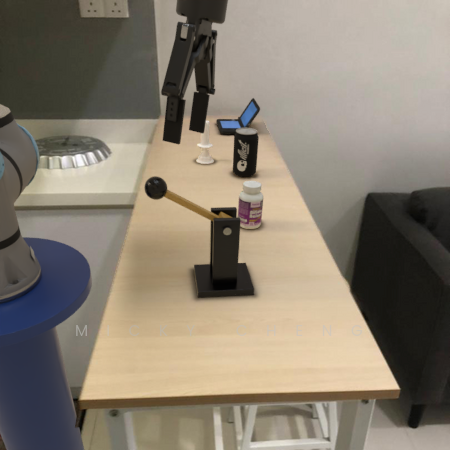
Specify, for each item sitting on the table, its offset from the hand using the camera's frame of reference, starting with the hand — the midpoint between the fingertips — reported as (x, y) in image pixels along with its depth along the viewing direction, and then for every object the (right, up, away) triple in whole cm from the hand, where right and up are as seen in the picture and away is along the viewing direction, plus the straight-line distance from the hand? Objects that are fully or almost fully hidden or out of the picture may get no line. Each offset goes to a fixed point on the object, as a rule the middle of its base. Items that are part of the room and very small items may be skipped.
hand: (184, 136), depth 79 cm
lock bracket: (+6, -25, +7) cm, 26 cm away
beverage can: (+12, +7, +52) cm, 54 cm away
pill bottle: (+12, -11, +26) cm, 31 cm away
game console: (+11, +34, +88) cm, 95 cm away
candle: (+1, +13, +59) cm, 61 cm away
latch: (0, -14, -2) cm, 14 cm away
